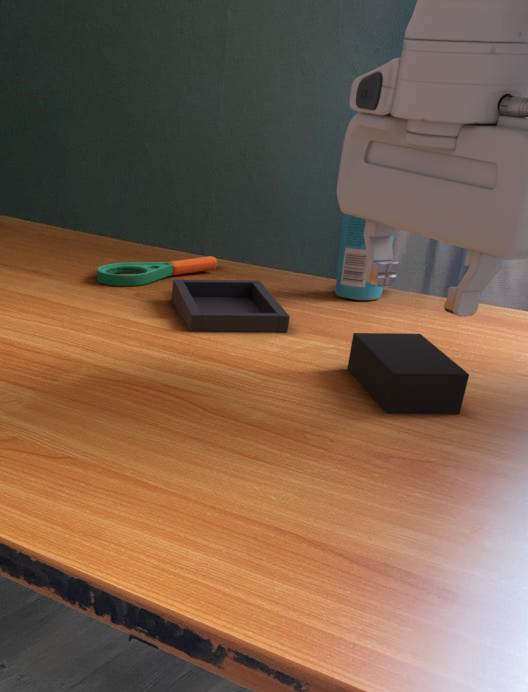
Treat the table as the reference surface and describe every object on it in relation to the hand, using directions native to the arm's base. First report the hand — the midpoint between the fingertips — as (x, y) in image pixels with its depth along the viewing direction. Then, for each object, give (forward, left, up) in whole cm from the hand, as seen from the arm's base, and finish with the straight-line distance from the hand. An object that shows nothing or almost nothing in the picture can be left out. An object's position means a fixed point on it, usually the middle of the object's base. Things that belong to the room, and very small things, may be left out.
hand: (417, 298), depth 75 cm
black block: (0, 0, -8) cm, 8 cm away
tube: (-6, -34, -8) cm, 36 cm away
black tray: (+10, -24, -8) cm, 27 cm away
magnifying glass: (+15, -42, -8) cm, 45 cm away
